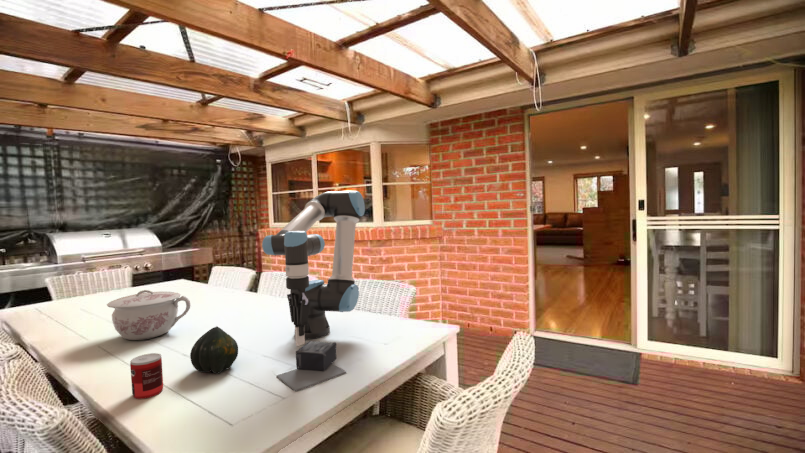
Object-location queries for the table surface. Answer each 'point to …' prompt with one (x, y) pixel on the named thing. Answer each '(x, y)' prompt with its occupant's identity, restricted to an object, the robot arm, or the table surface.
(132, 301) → the chamber pot
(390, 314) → the table surface
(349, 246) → the robot arm
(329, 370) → the mat
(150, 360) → the canned food
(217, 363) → the squash
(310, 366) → the small box
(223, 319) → the table surface
